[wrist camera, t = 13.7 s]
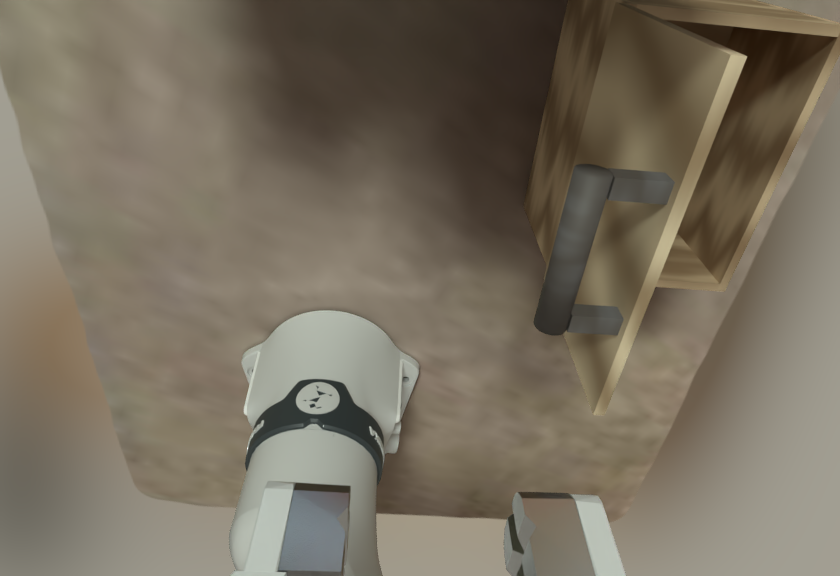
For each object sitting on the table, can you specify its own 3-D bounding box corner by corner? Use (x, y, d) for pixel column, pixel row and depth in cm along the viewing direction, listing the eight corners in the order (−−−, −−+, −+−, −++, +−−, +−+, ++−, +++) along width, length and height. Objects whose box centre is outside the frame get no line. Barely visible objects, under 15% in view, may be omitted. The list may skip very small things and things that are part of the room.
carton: (663, 216, 51) (724, 291, 41) (523, 206, 50) (551, 279, 40) (745, -3, 41) (853, 26, 31) (572, -21, 40) (626, 3, 30)
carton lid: (604, 415, 30) (517, 411, 29) (551, 280, 40) (487, 276, 40) (747, 56, 19) (617, 43, 19) (626, 3, 30) (541, -6, 30)
